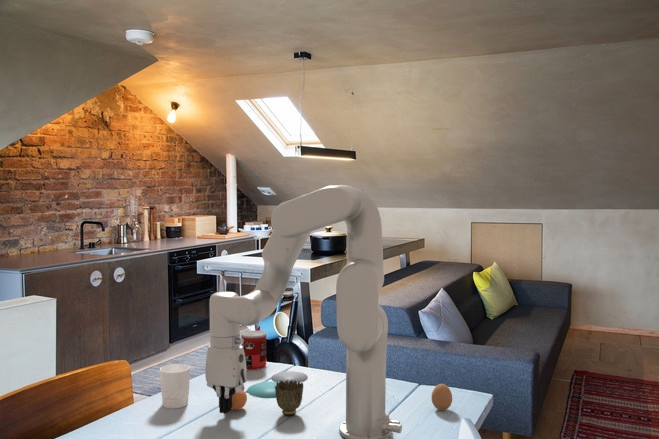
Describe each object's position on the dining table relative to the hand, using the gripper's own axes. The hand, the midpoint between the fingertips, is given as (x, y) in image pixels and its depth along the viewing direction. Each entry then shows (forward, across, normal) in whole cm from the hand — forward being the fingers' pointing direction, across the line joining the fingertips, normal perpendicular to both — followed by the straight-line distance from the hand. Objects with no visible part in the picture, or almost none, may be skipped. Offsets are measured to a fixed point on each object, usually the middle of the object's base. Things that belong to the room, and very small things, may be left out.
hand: (225, 411), depth 156 cm
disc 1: (+1, 0, -22) cm, 22 cm away
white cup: (+2, +17, -2) cm, 18 cm away
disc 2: (+1, 0, -34) cm, 34 cm away
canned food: (+2, +16, -40) cm, 43 cm away
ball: (-1, 0, -6) cm, 6 cm away
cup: (+2, -14, -8) cm, 16 cm away
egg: (+2, -49, -28) cm, 57 cm away
